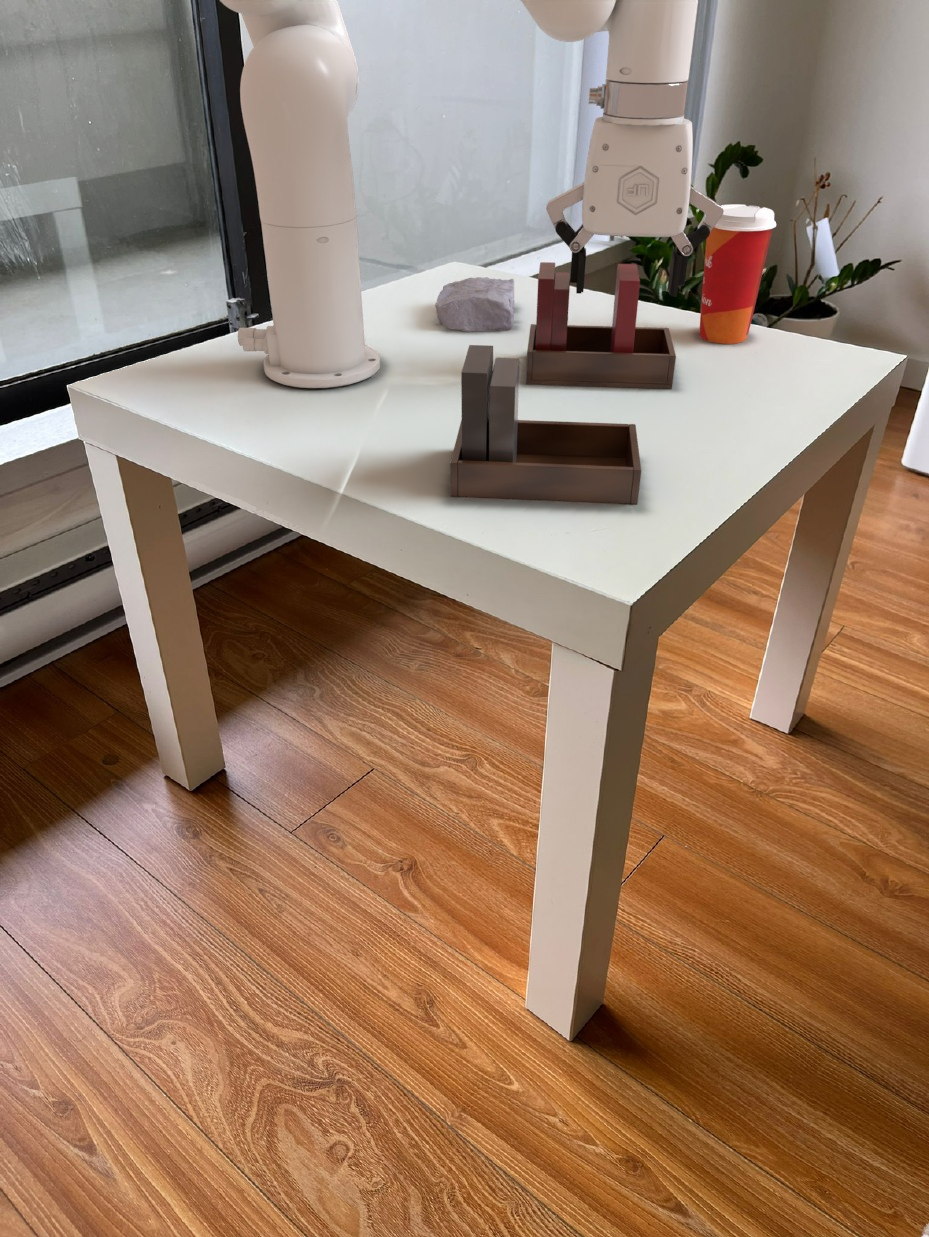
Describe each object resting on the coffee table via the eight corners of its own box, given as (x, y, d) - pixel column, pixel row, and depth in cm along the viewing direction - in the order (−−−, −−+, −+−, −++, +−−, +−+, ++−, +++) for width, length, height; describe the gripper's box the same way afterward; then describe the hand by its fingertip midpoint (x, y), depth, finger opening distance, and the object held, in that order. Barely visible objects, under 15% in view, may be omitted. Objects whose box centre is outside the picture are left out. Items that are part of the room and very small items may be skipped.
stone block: (439, 345, 114) (520, 329, 113) (430, 306, 111) (513, 289, 110) (444, 319, 124) (518, 304, 123) (436, 282, 121) (512, 266, 120)
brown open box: (525, 384, 99) (529, 282, 93) (529, 354, 106) (533, 258, 100) (671, 389, 97) (685, 286, 91) (665, 358, 105) (676, 261, 99)
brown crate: (450, 501, 77) (448, 378, 71) (461, 454, 85) (461, 339, 79) (637, 509, 76) (651, 385, 70) (631, 460, 83) (644, 344, 77)
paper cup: (708, 322, 116) (726, 200, 108) (767, 334, 112) (790, 209, 104) (677, 338, 111) (693, 212, 103) (737, 352, 107) (759, 221, 99)
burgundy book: (611, 378, 99) (619, 280, 93) (609, 357, 104) (617, 263, 98) (630, 378, 99) (640, 281, 93) (627, 357, 104) (636, 264, 98)
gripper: (550, 106, 85) (540, 299, 94) (745, 109, 83) (715, 305, 93) (551, 97, 91) (542, 279, 100) (733, 100, 89) (706, 284, 99)
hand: (625, 291), depth 97 cm, fingers open, 9 cm apart
